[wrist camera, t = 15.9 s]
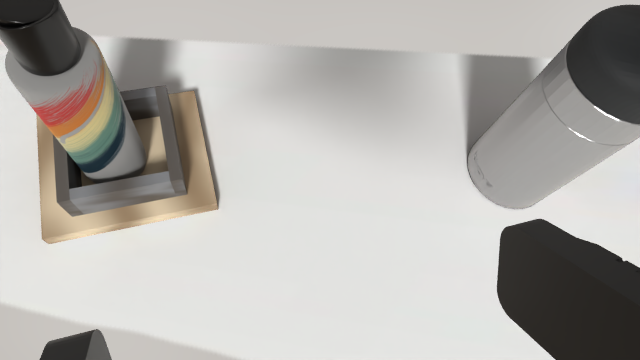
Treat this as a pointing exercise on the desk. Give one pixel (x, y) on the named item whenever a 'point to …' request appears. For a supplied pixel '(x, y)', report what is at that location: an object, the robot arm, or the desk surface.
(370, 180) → the desk surface
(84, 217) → the socket board
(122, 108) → the lotion bottle
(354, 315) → the desk surface
